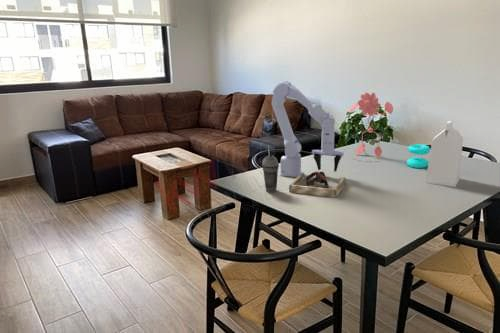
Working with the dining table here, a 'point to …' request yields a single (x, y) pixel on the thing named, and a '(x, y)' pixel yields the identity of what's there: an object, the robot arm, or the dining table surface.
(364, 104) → the pink flower ornament
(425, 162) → the donuts
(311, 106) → the robot arm
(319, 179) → the brown piece
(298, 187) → the wooden tray
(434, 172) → the milk
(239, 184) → the dining table surface
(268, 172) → the beverage cup
